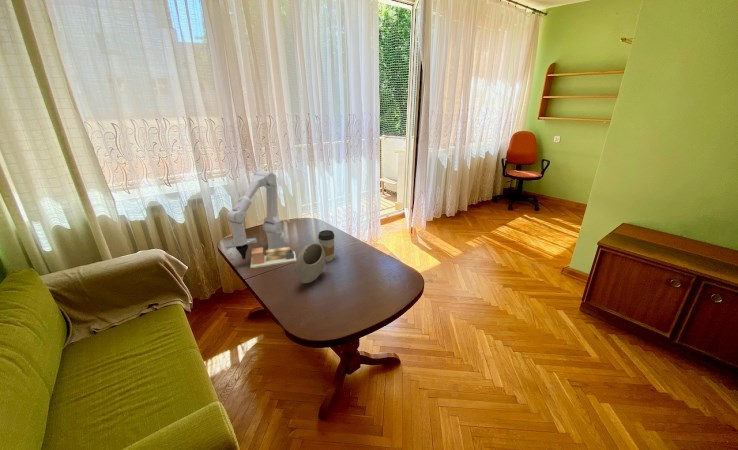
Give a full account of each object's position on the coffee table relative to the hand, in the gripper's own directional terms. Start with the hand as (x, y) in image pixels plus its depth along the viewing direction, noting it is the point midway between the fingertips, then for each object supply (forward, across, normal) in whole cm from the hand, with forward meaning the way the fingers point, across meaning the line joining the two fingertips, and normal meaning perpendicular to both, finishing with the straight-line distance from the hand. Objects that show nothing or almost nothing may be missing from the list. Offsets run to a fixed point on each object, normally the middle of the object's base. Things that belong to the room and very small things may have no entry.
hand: (243, 258), depth 149 cm
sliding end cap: (+3, -7, +2) cm, 7 cm away
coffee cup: (+4, -38, +17) cm, 42 cm away
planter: (+4, -24, +32) cm, 40 cm away
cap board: (+4, -14, +3) cm, 15 cm away
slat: (+3, -16, +4) cm, 17 cm away
